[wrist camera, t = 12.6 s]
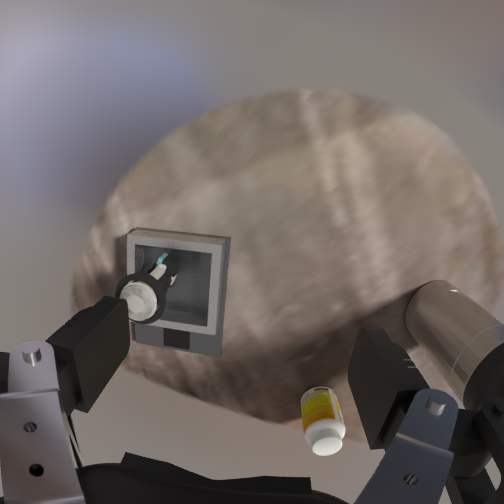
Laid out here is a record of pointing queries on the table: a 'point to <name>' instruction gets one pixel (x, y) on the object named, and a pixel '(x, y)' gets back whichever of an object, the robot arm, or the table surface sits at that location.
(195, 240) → the gray open box
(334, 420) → the supplement bottle
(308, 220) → the table surface
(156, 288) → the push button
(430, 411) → the robot arm
